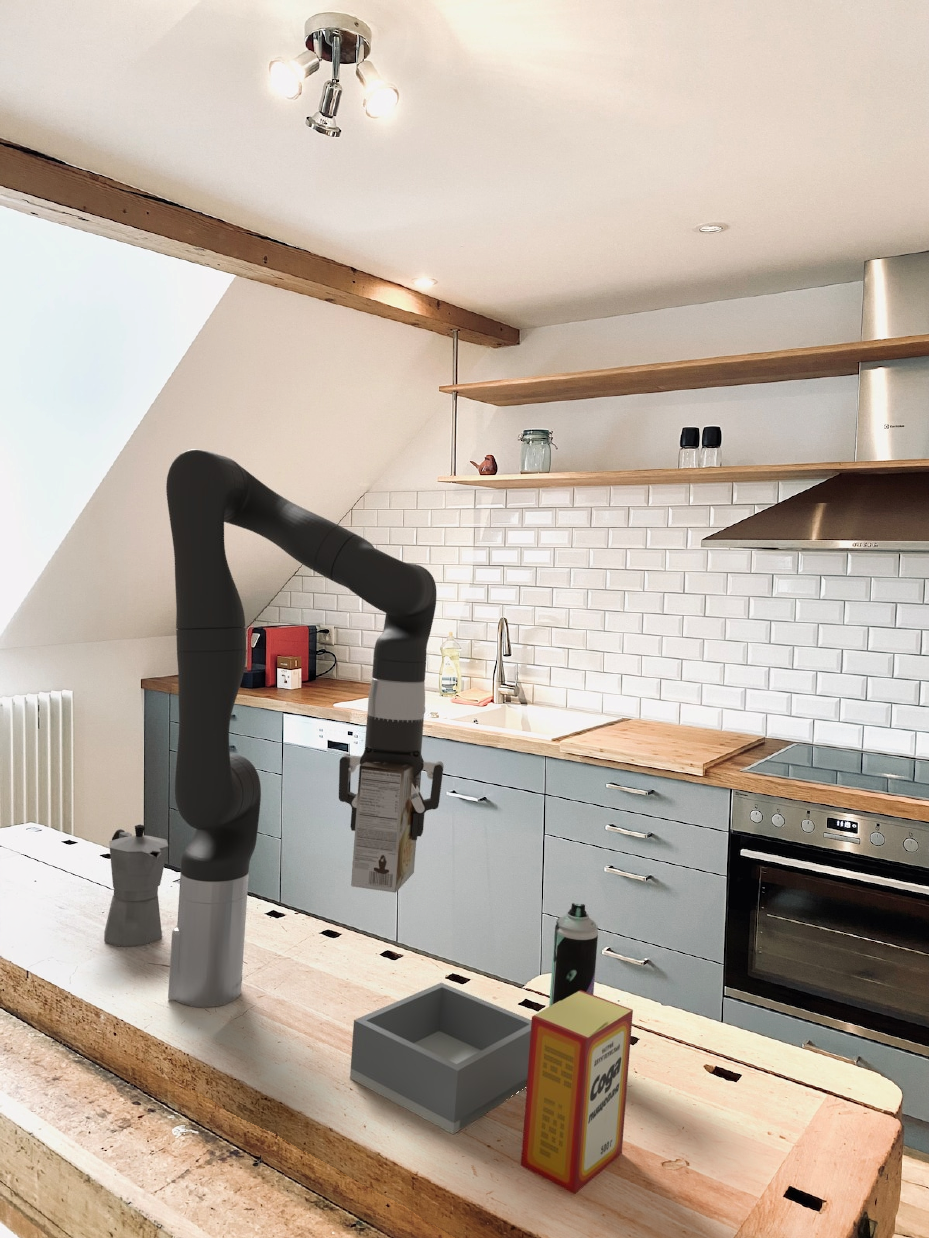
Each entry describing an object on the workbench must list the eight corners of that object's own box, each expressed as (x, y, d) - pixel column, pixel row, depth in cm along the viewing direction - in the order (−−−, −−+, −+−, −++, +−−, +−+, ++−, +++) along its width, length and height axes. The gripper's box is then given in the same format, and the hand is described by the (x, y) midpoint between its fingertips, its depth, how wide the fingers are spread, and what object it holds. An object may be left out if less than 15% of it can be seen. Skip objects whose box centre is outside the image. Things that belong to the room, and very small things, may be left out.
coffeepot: (180, 943, 149) (187, 830, 149) (122, 956, 143) (129, 838, 142) (137, 914, 160) (143, 809, 160) (81, 925, 154) (88, 815, 153)
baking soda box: (569, 1128, 105) (580, 986, 105) (621, 1153, 101) (633, 1006, 100) (520, 1165, 98) (532, 1012, 97) (574, 1193, 94) (586, 1035, 93)
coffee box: (370, 867, 131) (379, 752, 131) (414, 873, 130) (423, 758, 129) (349, 886, 122) (358, 764, 122) (397, 893, 121) (406, 769, 120)
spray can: (560, 1072, 117) (572, 913, 117) (537, 1051, 122) (548, 898, 121) (596, 1064, 120) (608, 909, 119) (572, 1044, 125) (583, 895, 124)
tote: (349, 1077, 112) (353, 1019, 112) (437, 1034, 125) (441, 982, 125) (453, 1133, 102) (457, 1070, 102) (537, 1080, 115) (541, 1024, 114)
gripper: (337, 712, 122) (328, 839, 122) (448, 721, 122) (438, 848, 122) (346, 705, 129) (337, 825, 130) (450, 713, 129) (441, 833, 130)
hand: (386, 836), depth 126 cm, fingers closed on coffee box, 7 cm apart
